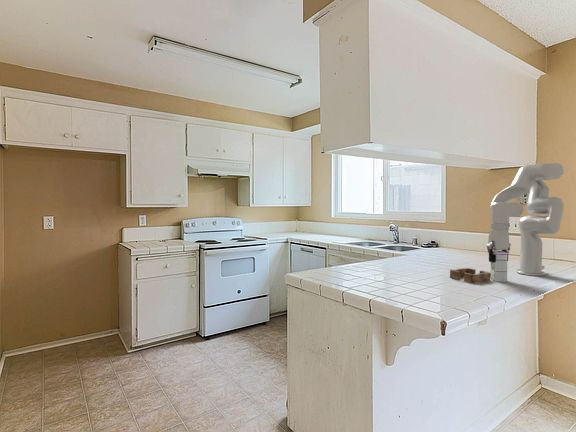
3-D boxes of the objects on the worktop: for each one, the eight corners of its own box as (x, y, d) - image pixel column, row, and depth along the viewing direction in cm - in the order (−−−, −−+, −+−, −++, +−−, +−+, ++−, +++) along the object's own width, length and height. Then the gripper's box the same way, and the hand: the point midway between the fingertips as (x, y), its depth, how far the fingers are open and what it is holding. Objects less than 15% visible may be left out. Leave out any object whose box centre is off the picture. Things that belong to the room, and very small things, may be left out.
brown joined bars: (466, 275, 176) (466, 267, 176) (491, 280, 164) (491, 272, 164) (448, 277, 170) (449, 270, 170) (473, 283, 158) (473, 275, 158)
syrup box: (507, 281, 161) (508, 252, 160) (494, 281, 162) (495, 252, 161) (502, 279, 166) (503, 250, 166) (489, 278, 168) (490, 250, 167)
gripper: (502, 226, 170) (501, 259, 171) (481, 226, 163) (479, 261, 163) (518, 227, 163) (516, 261, 164) (496, 227, 156) (494, 263, 157)
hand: (498, 261), depth 164 cm, fingers open, 9 cm apart
